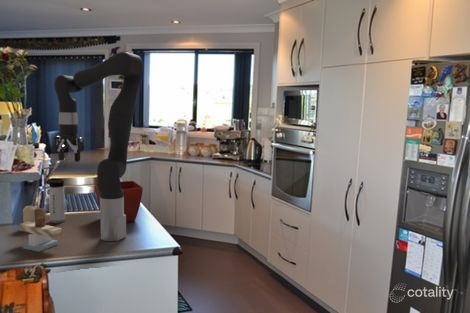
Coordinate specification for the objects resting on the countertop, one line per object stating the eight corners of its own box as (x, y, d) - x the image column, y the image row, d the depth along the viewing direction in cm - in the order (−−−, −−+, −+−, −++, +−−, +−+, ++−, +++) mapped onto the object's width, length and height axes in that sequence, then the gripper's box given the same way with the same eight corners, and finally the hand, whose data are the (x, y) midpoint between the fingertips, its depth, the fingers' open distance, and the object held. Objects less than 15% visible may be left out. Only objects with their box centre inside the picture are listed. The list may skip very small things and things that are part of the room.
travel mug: (60, 218, 189) (59, 177, 187) (67, 221, 185) (66, 179, 183) (47, 221, 184) (46, 179, 182) (54, 224, 180) (53, 180, 178)
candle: (36, 229, 171) (35, 207, 170) (22, 230, 170) (21, 207, 169) (38, 226, 177) (38, 204, 175) (25, 226, 175) (24, 204, 174)
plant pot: (101, 227, 177) (100, 190, 175) (94, 217, 194) (93, 183, 192) (143, 222, 186) (143, 187, 184) (133, 213, 203) (133, 180, 201)
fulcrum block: (58, 244, 154) (57, 230, 153) (38, 251, 146) (38, 237, 145) (42, 241, 157) (42, 227, 156) (23, 248, 148) (22, 234, 148)
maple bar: (61, 234, 148) (61, 211, 147) (52, 237, 145) (52, 213, 144) (29, 227, 156) (28, 205, 155) (19, 230, 152) (18, 207, 151)
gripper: (88, 123, 169) (88, 161, 171) (62, 122, 175) (63, 158, 176) (75, 124, 162) (75, 163, 164) (48, 122, 168) (49, 160, 169)
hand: (69, 160), depth 170 cm, fingers open, 8 cm apart
